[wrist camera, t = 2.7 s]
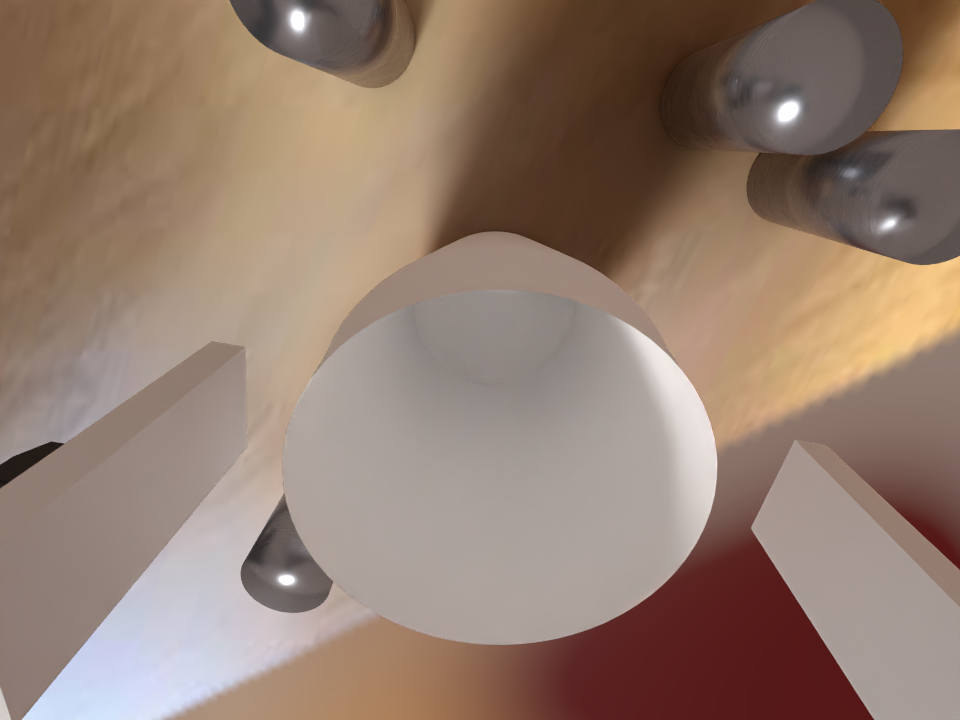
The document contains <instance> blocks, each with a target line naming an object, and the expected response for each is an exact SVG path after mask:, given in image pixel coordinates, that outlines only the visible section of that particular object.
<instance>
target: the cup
mask: <svg viewBox="0 0 960 720" xmlns="http://www.w3.org/2000/svg"><path fill="white" fill-rule="evenodd" d="M282 475H283V487H284V492H285V498H286V503H287V506H288V509H289V513H290V516H291V519H292V521H293V523H294V526H295V528H296V531H297V533H298V535H299V536H300V538H301V540H302V542H303V544H304V545H305V547H306V549H307V550H308V552H309V553H310V555H311V556H312V557H313V559H314V560H315V562H316V563H317V564H318V565H319V566H320V568H321V569H322V570H323V571H324V572H325V573H326V575H327V576H328V577H329V578H330V579H331V580H332V581H333V582H335V583H336V584H337V585H338V586H339V587H340V588H341V589H342V590H343V591H345V592H346V593H347V594H348V595H350V596H351V597H352V598H353V599H355V600H356V601H358V602H359V603H361V604H362V605H363V606H365V607H366V608H368V609H370V610H372V611H373V612H375V613H377V614H378V615H380V616H382V617H384V618H386V619H388V620H390V621H393V622H394V623H397V624H399V625H402V626H404V627H407V628H409V629H412V630H414V631H418V632H421V633H425V634H427V635H431V636H435V637H439V638H443V639H447V640H453V641H459V642H466V643H475V644H492V645H507V644H524V643H534V642H541V641H546V640H552V639H557V638H561V637H564V636H568V635H572V634H576V633H579V632H582V631H585V630H588V629H591V628H593V627H596V626H598V625H600V624H603V623H605V622H607V621H609V620H611V619H613V618H615V617H617V616H619V615H621V614H623V613H625V612H626V611H628V610H630V609H631V608H633V607H635V606H636V605H637V604H639V603H640V602H642V601H643V600H644V599H646V598H647V597H649V596H650V595H651V594H653V593H654V592H655V591H656V590H657V589H658V588H660V587H661V586H662V585H663V584H664V583H665V582H666V581H667V580H668V579H669V578H670V577H671V576H672V575H673V574H674V573H675V572H676V571H677V569H678V568H679V567H680V566H681V564H682V563H683V562H684V561H685V560H686V558H687V557H688V555H689V554H690V552H691V551H692V549H693V547H694V546H695V545H696V543H697V541H698V539H699V537H700V535H701V533H702V531H703V529H704V527H705V524H706V522H707V519H708V517H709V514H710V511H711V507H712V503H713V499H714V495H715V488H716V480H717V455H716V446H715V440H714V436H713V432H712V427H711V423H710V421H709V418H708V416H707V413H706V410H705V408H704V405H703V403H702V401H701V400H700V398H699V396H698V394H697V392H696V390H695V388H694V387H693V385H692V384H691V382H690V381H689V380H688V378H687V377H686V375H685V374H684V372H683V371H682V370H681V368H680V367H679V365H678V364H677V362H676V361H675V359H674V358H673V356H672V355H671V353H670V352H669V350H668V349H667V347H666V345H665V343H664V341H663V339H662V337H661V335H660V334H659V332H658V330H657V328H656V327H655V325H654V324H653V322H652V321H651V319H650V318H649V317H648V315H647V314H646V313H645V311H644V310H643V309H642V308H641V307H640V306H639V305H638V303H637V302H636V301H635V300H634V299H633V298H632V297H631V296H629V295H628V294H627V293H626V292H625V291H624V290H623V289H622V288H621V287H619V286H618V285H617V284H616V283H614V282H613V281H612V280H610V279H609V278H607V277H606V276H605V275H603V274H602V273H601V272H599V271H597V270H595V269H594V268H592V267H590V266H588V265H587V264H585V263H583V262H581V261H579V260H576V259H574V258H572V257H570V256H568V255H565V254H563V253H561V252H559V251H556V250H554V249H552V248H549V247H547V246H545V245H543V244H540V243H538V242H536V241H533V240H531V239H529V238H526V237H524V236H521V235H518V234H513V233H509V232H499V231H491V232H481V233H476V234H472V235H469V236H466V237H464V238H461V239H459V240H457V241H455V242H453V243H451V244H449V245H447V246H444V247H442V248H440V249H438V250H436V251H434V252H432V253H430V254H428V255H426V256H424V257H422V258H420V259H418V260H417V261H415V262H413V263H411V264H409V265H407V266H405V267H403V268H401V269H400V270H398V271H397V272H395V273H394V274H392V275H391V276H389V277H388V278H386V279H385V280H384V281H382V282H381V283H380V284H379V285H378V286H376V287H375V288H374V289H373V290H372V291H370V292H369V293H368V294H367V295H366V296H365V297H364V298H363V299H362V300H361V301H360V302H359V303H358V304H357V305H356V306H355V307H354V308H353V310H352V311H351V312H350V314H349V315H348V316H347V317H346V319H345V320H344V321H343V323H342V324H341V326H340V328H339V329H338V331H337V333H336V334H335V336H334V338H333V340H332V342H331V344H330V346H329V348H328V351H327V353H326V354H325V356H324V358H323V360H322V361H321V363H320V365H319V366H318V368H317V370H316V371H315V373H314V374H313V376H312V378H311V379H310V381H309V382H308V384H307V386H306V387H305V389H304V391H303V392H302V394H301V395H300V397H299V400H298V402H297V404H296V406H295V408H294V410H293V413H292V415H291V419H290V422H289V425H288V428H287V431H286V436H285V442H284V447H283V459H282Z"/></svg>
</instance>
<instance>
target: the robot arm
mask: <svg viewBox="0 0 960 720" xmlns="http://www.w3.org/2000/svg"><path fill="white" fill-rule="evenodd" d="M246 448H247V404H246V359H245V347H242V346H236V345H230V344H225V343H219V342H213V341H212V342H210V343H209V344H207V345H206V346H205V347H203V348H202V349H200V350H199V351H197V352H196V353H194V354H193V355H192V356H190V357H189V358H187V359H186V360H184V361H183V362H182V363H180V364H179V365H177V366H176V367H174V368H173V369H171V370H170V371H169V372H167V373H166V374H164V375H163V376H161V377H160V378H159V379H157V380H156V381H154V382H153V383H151V384H150V385H148V386H147V387H146V388H144V389H143V390H141V391H140V392H138V393H137V394H136V395H134V396H133V397H131V398H130V399H128V400H127V401H125V402H124V403H123V404H121V405H120V406H118V407H117V408H115V409H114V410H113V411H111V412H110V413H108V414H107V415H105V416H104V417H102V418H101V419H100V420H98V421H97V422H95V423H94V424H92V425H91V426H90V427H88V428H87V429H85V430H84V431H82V432H81V433H79V434H78V435H77V436H75V437H74V438H72V439H71V440H69V441H68V442H67V443H65V444H63V443H57V442H49V443H46V444H44V445H41V446H39V447H36V448H34V449H31V450H29V451H26V452H24V453H21V454H19V455H16V456H14V457H12V458H10V459H9V460H7V461H6V462H4V463H2V464H1V465H0V720H22V718H23V717H24V716H25V715H26V714H27V712H28V711H29V710H30V709H31V708H32V706H33V705H34V704H35V703H36V702H37V700H38V699H39V698H40V697H41V696H42V694H43V693H44V692H45V691H46V689H47V688H48V687H49V686H50V685H51V683H52V682H53V681H54V680H55V679H56V677H57V676H58V675H59V674H60V673H61V671H62V670H63V669H64V668H65V666H66V665H67V664H68V663H69V662H70V660H71V659H72V658H73V657H74V656H75V654H76V653H77V652H78V651H79V650H80V648H81V647H82V646H83V645H84V644H85V642H86V641H87V640H88V639H89V637H90V636H91V635H92V634H93V633H94V631H95V630H96V629H97V628H98V627H99V625H100V624H101V623H102V622H103V621H104V619H105V618H106V617H107V616H108V615H109V613H110V612H111V611H112V610H113V608H114V607H115V606H116V605H117V604H118V602H119V601H120V600H121V599H122V598H123V596H124V595H125V594H126V593H127V592H128V590H129V589H130V588H131V587H132V586H133V584H134V583H135V582H136V581H137V579H138V578H139V577H140V576H141V575H142V573H143V572H144V571H145V570H146V569H147V567H148V566H149V565H150V564H151V563H152V561H153V560H154V559H155V558H156V557H157V555H158V554H159V553H160V552H161V550H162V549H163V548H164V547H165V546H166V544H167V543H168V542H169V541H170V540H171V538H172V537H173V536H174V535H175V534H176V532H177V531H178V530H179V529H180V528H181V526H182V525H183V524H184V523H185V521H186V520H187V519H188V518H189V517H190V515H191V514H192V513H193V512H194V511H195V509H196V508H197V507H198V506H199V505H200V503H201V502H202V501H203V500H204V498H205V497H206V496H207V495H208V494H209V492H210V491H211V490H212V489H213V488H214V486H215V485H216V484H217V483H218V482H219V480H220V479H221V478H222V477H223V476H224V474H225V473H226V472H227V471H228V469H229V468H230V467H231V466H232V465H233V463H234V462H235V461H236V460H237V459H238V457H239V456H240V455H241V454H242V453H243V451H244V450H245V449H246ZM751 529H752V531H753V532H754V534H755V535H756V537H757V538H758V540H759V541H760V543H761V545H762V546H763V548H764V549H765V551H766V553H767V554H768V556H769V557H770V559H771V560H772V562H773V563H774V565H775V566H776V568H777V569H778V571H779V572H780V574H781V576H782V577H783V579H784V580H785V582H786V583H787V585H788V587H789V588H790V590H791V591H792V593H793V594H794V596H795V597H796V599H797V601H798V602H799V604H800V605H801V607H802V608H803V610H804V611H805V613H806V614H807V616H808V618H809V619H810V621H811V622H812V624H813V625H814V627H815V629H816V630H817V631H818V633H819V635H820V636H821V638H822V639H823V641H824V642H825V644H826V646H827V647H828V649H829V650H830V652H831V653H832V655H833V656H834V658H835V660H836V661H837V663H838V664H839V666H840V667H841V669H842V670H843V672H844V673H845V675H846V677H847V678H848V680H849V681H850V683H851V684H852V686H853V687H854V689H855V690H856V692H857V694H858V695H859V697H860V698H861V700H862V701H863V703H864V704H865V706H866V708H867V709H868V711H869V712H870V714H871V715H872V717H873V718H874V720H960V570H959V569H958V568H957V567H956V566H955V565H953V564H952V563H951V562H950V561H949V560H948V559H947V558H946V557H945V556H944V555H943V554H942V553H941V552H940V551H939V550H938V549H936V548H935V547H934V546H933V545H932V544H931V543H930V542H929V541H928V540H927V539H926V538H925V537H924V536H923V535H922V534H920V533H919V532H918V531H917V530H916V529H915V528H914V527H913V526H912V525H911V524H910V523H909V522H908V521H907V520H906V519H904V518H903V517H902V516H901V515H900V514H899V513H898V512H897V511H896V510H895V509H893V507H892V506H891V505H889V504H888V503H887V502H886V501H885V500H884V499H883V498H882V497H881V496H880V495H879V494H877V492H875V491H874V490H873V489H872V488H871V487H870V486H869V485H868V484H867V483H866V482H865V481H864V480H863V479H862V478H861V477H860V476H859V475H857V474H856V473H855V472H854V471H853V470H852V469H851V468H849V466H848V465H847V464H846V463H845V462H844V461H842V460H841V459H840V458H839V457H838V456H837V455H836V454H835V453H834V452H833V451H832V450H831V449H830V448H828V446H827V445H823V444H817V443H811V442H805V441H800V440H795V441H794V443H793V445H792V447H791V449H790V451H789V453H788V455H787V457H786V459H785V461H784V463H783V465H782V467H781V469H780V471H779V473H778V475H777V477H776V479H775V481H774V483H773V485H772V487H771V489H770V491H769V493H768V495H767V497H766V499H765V501H764V503H763V505H762V507H761V509H760V511H759V513H758V515H757V517H756V519H755V521H754V523H753V525H752V527H751Z"/></svg>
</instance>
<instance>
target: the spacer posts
mask: <svg viewBox="0 0 960 720" xmlns="http://www.w3.org/2000/svg"><path fill="white" fill-rule="evenodd" d="M230 2H231V5H232V7H233V8H234V10H235V12H236V14H237V16H238V17H239V19H240V20H241V22H242V23H243V25H244V26H245V27H246V28H247V29H248V31H249V32H250V33H251V34H252V35H253V36H254V37H255V38H256V39H257V40H258V41H260V42H261V43H262V44H264V45H265V46H266V47H268V48H269V49H271V50H273V51H275V52H277V53H279V54H281V55H284V56H286V57H289V58H291V59H294V60H296V61H299V62H301V63H304V64H306V65H309V66H311V67H314V68H316V69H319V70H321V71H324V72H326V73H329V74H331V75H334V76H336V77H339V78H341V79H344V80H346V81H349V82H351V83H354V84H356V85H359V86H362V87H367V88H378V87H383V86H386V85H388V84H390V83H392V82H394V81H395V80H396V79H398V78H399V77H400V76H401V75H402V74H403V72H404V71H405V70H406V68H407V67H408V65H409V63H410V61H411V58H412V55H413V52H414V46H415V29H414V23H413V20H412V16H411V14H410V11H409V9H408V7H407V5H406V3H405V2H404V0H230ZM902 62H903V44H902V37H901V33H900V30H899V27H898V25H897V22H896V20H895V19H894V17H893V16H892V14H891V13H890V12H889V11H888V9H887V8H886V7H885V6H883V5H882V4H881V3H880V2H878V1H876V0H817V1H815V2H812V3H810V4H808V5H805V6H803V7H801V8H798V9H796V10H794V11H791V12H789V13H786V14H784V15H782V16H779V17H777V18H775V19H772V20H770V21H768V22H765V23H763V24H760V25H758V26H756V27H753V28H751V29H749V30H746V31H744V32H742V33H739V34H737V35H734V36H732V37H730V38H727V39H725V40H723V41H720V42H718V43H716V44H713V45H711V46H708V47H706V48H704V49H701V50H699V51H697V52H695V53H693V54H691V55H689V56H688V57H686V58H685V59H684V60H683V61H681V62H680V63H679V64H678V65H677V66H676V68H675V69H674V70H673V71H672V73H671V74H670V76H669V78H668V79H667V82H666V84H665V86H664V89H663V92H662V97H661V104H660V109H661V118H662V122H663V125H664V127H665V129H666V131H667V133H668V134H669V135H670V137H671V138H672V139H673V140H675V141H676V142H677V143H679V144H680V145H682V146H684V147H687V148H691V149H703V150H722V151H742V152H761V153H760V155H759V156H758V157H757V159H756V160H755V162H754V164H753V166H752V168H751V170H750V173H749V176H748V181H747V196H748V201H749V203H750V205H751V207H752V209H753V210H754V212H755V213H756V214H757V215H758V216H760V217H761V218H763V219H764V220H767V221H769V222H773V223H776V224H779V225H783V226H786V227H789V228H793V229H796V230H799V231H803V232H806V233H809V234H813V235H816V236H819V237H823V238H826V239H830V240H833V241H836V242H840V243H843V244H846V245H850V246H853V247H856V248H860V249H863V250H866V251H870V252H873V253H876V254H880V255H883V256H887V257H890V258H893V259H897V260H900V261H903V262H907V263H911V264H917V265H930V264H937V263H941V262H945V261H948V260H951V259H953V258H956V257H958V256H960V129H956V130H904V131H866V130H867V129H868V128H869V127H870V126H871V125H872V124H873V123H874V122H875V121H876V120H877V119H878V117H879V116H880V115H881V114H882V112H883V111H884V109H885V108H886V106H887V105H888V103H889V101H890V99H891V97H892V95H893V93H894V91H895V89H896V86H897V84H898V81H899V77H900V73H901V69H902ZM241 580H242V583H243V586H244V588H245V589H246V591H247V592H248V593H249V594H250V596H252V597H253V598H254V599H255V600H256V601H258V602H259V603H261V604H262V605H264V606H266V607H268V608H271V609H274V610H277V611H281V612H288V613H298V612H305V611H309V610H312V609H314V608H316V607H318V606H319V605H321V604H322V603H323V602H324V601H325V600H326V598H327V597H328V595H329V592H330V589H331V586H332V584H333V581H332V580H331V579H330V578H329V577H328V576H327V575H326V573H325V572H324V571H323V570H322V569H321V568H320V566H319V565H318V564H317V563H316V562H315V560H314V559H313V557H312V556H311V555H310V553H309V552H308V550H307V549H306V547H305V545H304V544H303V542H302V540H301V538H300V536H299V535H298V533H297V531H296V528H295V526H294V523H293V521H292V519H291V516H290V513H289V509H288V506H287V503H286V498H285V493H284V494H283V496H282V498H281V499H280V501H279V503H278V505H277V506H276V508H275V510H274V511H273V513H272V515H271V517H270V518H269V520H268V522H267V523H266V525H265V527H264V529H263V530H262V532H261V534H260V535H259V537H258V539H257V541H256V542H255V544H254V546H253V547H252V549H251V551H250V553H249V554H248V556H247V558H246V559H245V561H244V563H243V565H242V568H241Z"/></svg>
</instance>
